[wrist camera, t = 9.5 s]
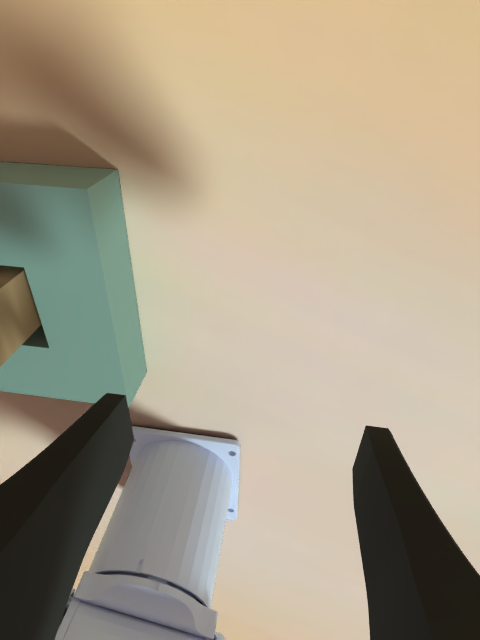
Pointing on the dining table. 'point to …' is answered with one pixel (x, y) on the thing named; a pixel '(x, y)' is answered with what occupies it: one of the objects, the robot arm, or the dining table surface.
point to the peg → (15, 310)
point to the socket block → (71, 282)
